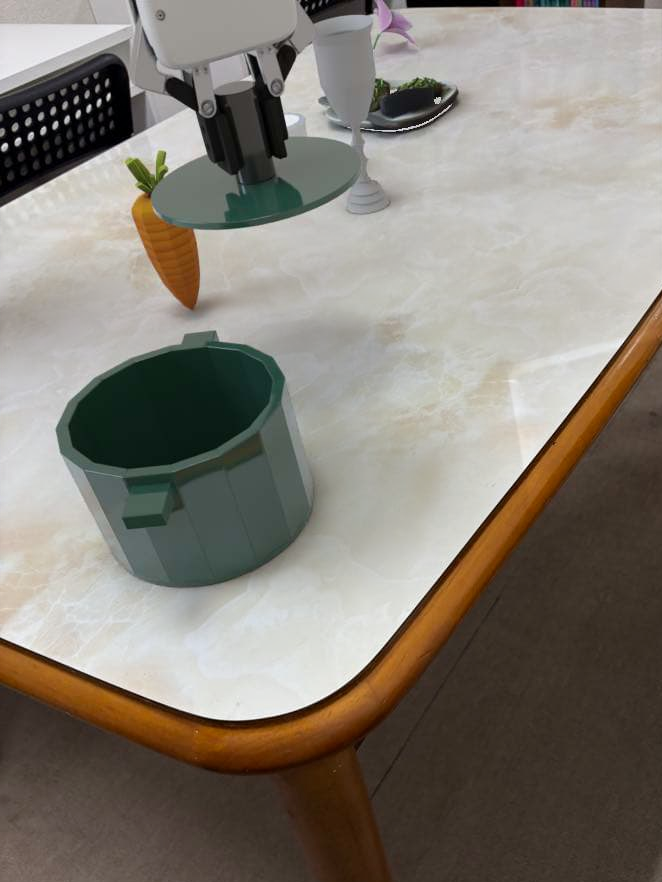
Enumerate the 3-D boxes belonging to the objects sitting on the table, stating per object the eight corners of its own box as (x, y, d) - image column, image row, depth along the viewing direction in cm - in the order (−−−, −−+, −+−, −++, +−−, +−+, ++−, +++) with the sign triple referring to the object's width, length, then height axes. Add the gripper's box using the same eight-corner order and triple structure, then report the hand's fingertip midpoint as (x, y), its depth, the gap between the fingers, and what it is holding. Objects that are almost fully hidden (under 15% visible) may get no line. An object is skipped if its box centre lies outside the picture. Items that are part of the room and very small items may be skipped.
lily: (413, 69, 136) (431, 1, 132) (341, 45, 134) (358, -25, 130) (413, 74, 147) (430, 11, 143) (347, 51, 145) (362, -13, 141)
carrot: (211, 291, 86) (164, 137, 76) (221, 312, 83) (173, 153, 72) (163, 305, 85) (109, 151, 75) (171, 327, 82) (115, 168, 72)
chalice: (351, 190, 101) (322, 16, 88) (405, 191, 99) (383, 12, 86) (328, 217, 96) (294, 38, 83) (385, 218, 94) (358, 34, 81)
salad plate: (289, 132, 118) (281, 97, 115) (357, 89, 129) (352, 55, 126) (409, 141, 110) (405, 103, 107) (472, 94, 120) (469, 58, 117)
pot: (77, 628, 54) (11, 518, 48) (143, 438, 69) (100, 334, 62) (302, 607, 53) (266, 492, 47) (321, 418, 68) (296, 311, 61)
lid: (134, 251, 58) (95, 143, 53) (176, 166, 70) (147, 70, 65) (360, 221, 57) (341, 108, 52) (366, 139, 68) (351, 40, 63)
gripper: (273, -189, 54) (328, 118, 67) (18, -137, 49) (130, 183, 62) (326, -192, 49) (375, 140, 62) (47, -134, 44) (162, 213, 57)
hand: (251, 159), depth 62 cm, fingers closed on lid, 3 cm apart
